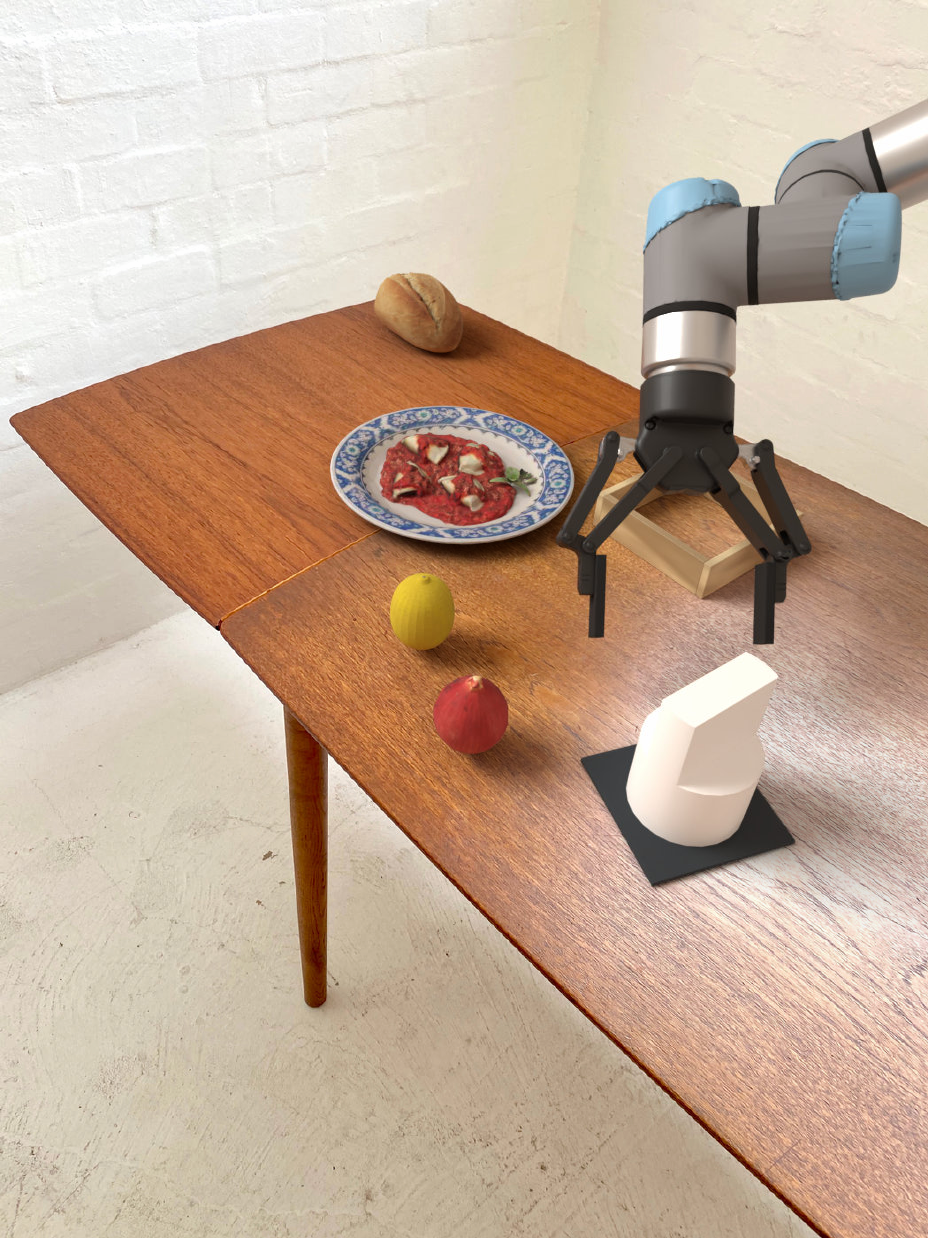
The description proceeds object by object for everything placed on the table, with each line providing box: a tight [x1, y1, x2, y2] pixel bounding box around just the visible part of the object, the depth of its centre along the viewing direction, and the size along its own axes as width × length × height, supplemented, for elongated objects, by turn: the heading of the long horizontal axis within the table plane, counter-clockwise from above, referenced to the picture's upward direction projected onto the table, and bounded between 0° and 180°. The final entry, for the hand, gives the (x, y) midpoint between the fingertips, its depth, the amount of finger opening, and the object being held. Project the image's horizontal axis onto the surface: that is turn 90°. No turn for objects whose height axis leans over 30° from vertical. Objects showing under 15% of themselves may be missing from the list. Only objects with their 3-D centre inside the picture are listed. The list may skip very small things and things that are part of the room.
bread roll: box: [373, 272, 464, 353], centre depth 128 cm, size 10×15×8 cm, turn 37°
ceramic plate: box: [329, 405, 575, 545], centre depth 104 cm, size 26×26×3 cm
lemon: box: [389, 572, 456, 651], centre depth 83 cm, size 6×6×8 cm
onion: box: [432, 674, 509, 755], centre depth 75 cm, size 6×6×8 cm
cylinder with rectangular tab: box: [626, 651, 780, 847], centre depth 71 cm, size 9×9×12 cm
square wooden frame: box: [592, 469, 804, 600], centre depth 100 cm, size 15×15×4 cm
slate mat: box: [580, 743, 796, 887], centre depth 75 cm, size 12×12×1 cm
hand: (680, 641), depth 79 cm, fingers open, 13 cm apart
